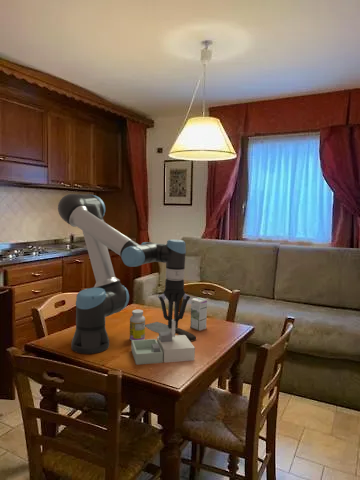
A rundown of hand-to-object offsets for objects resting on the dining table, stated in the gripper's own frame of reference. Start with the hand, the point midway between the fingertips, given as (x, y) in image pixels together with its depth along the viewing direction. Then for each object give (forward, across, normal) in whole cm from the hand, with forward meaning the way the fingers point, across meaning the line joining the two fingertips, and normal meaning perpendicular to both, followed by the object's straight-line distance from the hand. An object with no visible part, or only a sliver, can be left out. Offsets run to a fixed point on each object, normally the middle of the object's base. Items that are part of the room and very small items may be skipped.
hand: (172, 335), depth 151 cm
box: (+6, -11, -3) cm, 13 cm away
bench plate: (+6, 0, -3) cm, 7 cm away
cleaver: (+7, +4, +22) cm, 23 cm away
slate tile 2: (+1, -3, 0) cm, 3 cm away
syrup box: (+7, +19, +24) cm, 32 cm away
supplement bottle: (+7, -12, +15) cm, 20 cm away
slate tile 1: (+4, -7, -6) cm, 10 cm away
